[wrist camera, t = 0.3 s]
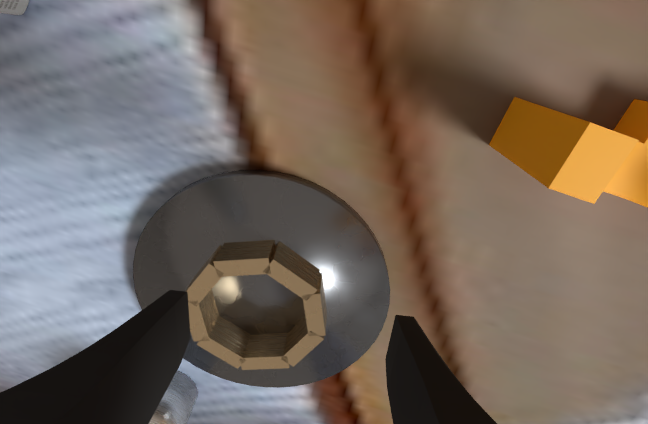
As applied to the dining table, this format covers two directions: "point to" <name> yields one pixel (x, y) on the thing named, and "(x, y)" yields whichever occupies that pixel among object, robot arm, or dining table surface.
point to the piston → (176, 401)
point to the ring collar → (266, 277)
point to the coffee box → (13, 6)
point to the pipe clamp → (578, 151)
